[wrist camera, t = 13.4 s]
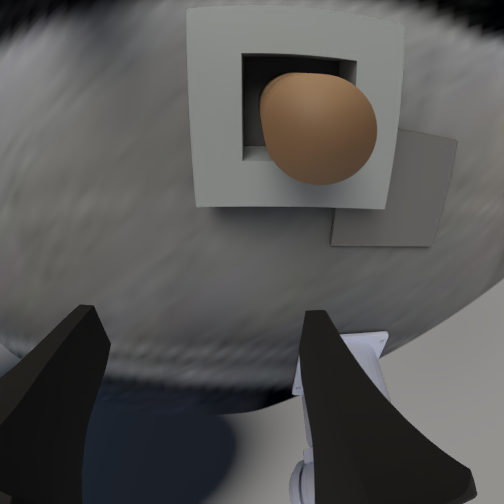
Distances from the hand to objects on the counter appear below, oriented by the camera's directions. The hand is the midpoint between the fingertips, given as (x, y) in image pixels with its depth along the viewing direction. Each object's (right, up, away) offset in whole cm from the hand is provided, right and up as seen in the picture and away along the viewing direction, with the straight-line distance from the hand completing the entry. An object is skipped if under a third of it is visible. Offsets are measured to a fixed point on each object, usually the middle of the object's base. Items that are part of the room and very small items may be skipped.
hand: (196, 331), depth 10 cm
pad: (+11, +7, +8) cm, 15 cm away
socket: (+4, +11, +5) cm, 13 cm away
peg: (+4, +11, +5) cm, 13 cm away
